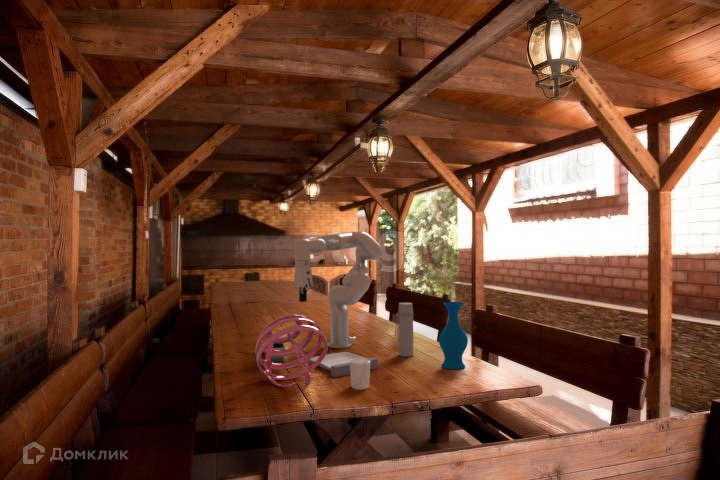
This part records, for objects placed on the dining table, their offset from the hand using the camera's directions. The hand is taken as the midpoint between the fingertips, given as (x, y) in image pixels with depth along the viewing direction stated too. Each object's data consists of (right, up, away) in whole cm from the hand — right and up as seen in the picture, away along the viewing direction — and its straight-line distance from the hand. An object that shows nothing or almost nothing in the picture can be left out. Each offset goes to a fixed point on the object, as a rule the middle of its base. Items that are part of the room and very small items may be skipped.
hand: (303, 301), depth 230 cm
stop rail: (+26, -26, -32) cm, 48 cm away
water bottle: (+49, -26, -4) cm, 56 cm away
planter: (-12, -26, -5) cm, 29 cm away
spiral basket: (+1, -26, -45) cm, 52 cm away
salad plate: (+19, -26, -22) cm, 39 cm away
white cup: (+28, -26, -52) cm, 64 cm away
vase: (+69, -26, -24) cm, 77 cm away
